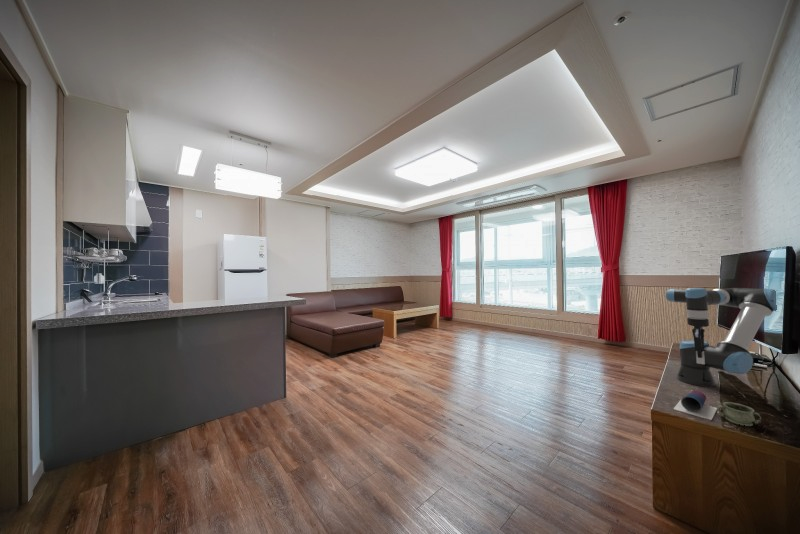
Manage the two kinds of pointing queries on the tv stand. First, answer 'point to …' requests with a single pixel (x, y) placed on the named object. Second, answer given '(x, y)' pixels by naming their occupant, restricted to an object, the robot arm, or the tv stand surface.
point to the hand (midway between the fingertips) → (700, 363)
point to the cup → (693, 401)
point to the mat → (705, 413)
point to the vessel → (739, 414)
